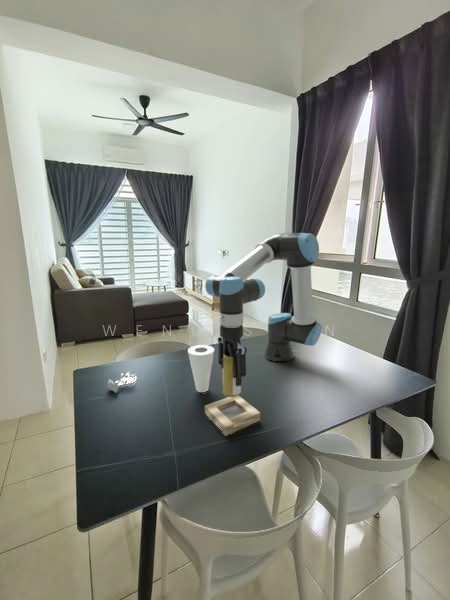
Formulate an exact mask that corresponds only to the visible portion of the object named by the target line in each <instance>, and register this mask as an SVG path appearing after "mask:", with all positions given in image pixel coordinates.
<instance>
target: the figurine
mask: <svg viewBox="0 0 450 600" xmlns="http://www.w3.org/2000/svg"><path fill="white" fill-rule="evenodd" d="M133 371H134V369H130V370H128V371H126V372H125V373H121V374H120V376H119V377H120V378H119V380H115V382H114V381H113V380H112V379H108V382H107V387H109V388H110V389H113V390H115V391H118V392H119V389H118V388H119V387H118V386H120V385H123V384H128V383H129V384H130V383H133V382H135V381H137V380H136V379H137V375H138V373H137V372H135V373H134V374H132V373H131V372H133ZM124 374H125V375H124ZM123 375H124V376H123ZM122 376H123V377H122ZM115 383H118V384H117V385H115ZM135 383H136V382H135ZM109 388H108V389H109Z"/></svg>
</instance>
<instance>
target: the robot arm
mask: <svg viewBox="0 0 450 600" xmlns="http://www.w3.org/2000/svg"><path fill="white" fill-rule="evenodd" d="M319 244H320V243H319V241H318V238H317V237H316V236H315V235H314V234H313V233H307V232H306V233H305V232H292V233H291V232H290V233H288V232H287V233H277V234H274V235H271V236H269V237H267V238H265V239H264V240H263V241H261V242H259V243H258V244H256V246H255V248H254V249H253V250H252V251H251V252H250V253H248V254H247V255H246V256H244V257H243V258H242V259H240V260H239V261H238V262H236V263H235V264H233V265H232V266H231V267H230V268H228V269H227V270H226V271H224V272H223V273H222V274H220V275H219V276H217V275H212V276H209V277H208V278H207V279H206V281H205V285H204V286H205V287H204V288H205V291H206V293H207V294H208V295H209V296H213V297H216V298H219V324H220V325H219V335H220V337H218V338H217V342H218V355H217V356H218V358H217V361H218V365H220V367H221V371H222V373H221V374H222V375H221V376H223V365H224V359H223V355H224V353H225V356H229V355H230V356H231V357H232V358H233V369H234V375H235V376H233V395H236V394H239V393H240V394H241V393H242V378H244V377H246V376H247V365H246V363H247V360H246V357H247V355H246V354H247V347H245V346H242V343H241V338H242V337H243V335H244V331H243V330H244V325H243V324H244V305H245V304H248V303H251V302H257V301H258V300H260V299H262V298H263V297H264V296H265V293H266V286H265V284H264V282H263V281H262V280H261V279H258V278H250V279H249V277H252V275H253V274H254V273H256V272H257V271H258V270H259V269H261V268H262V267H263V266H264V265H265V264H270V263H272V262H273V261H277V260H279V261H286V266H287V268H289V269H290V274H291V275H290V277H291V289H292V301H293V303H292V304H293V315H292V314H291V313H289V312H280V313H279V312H278V313H273V314H271V315H269V316H268V318H267V319H268V321H267V343H266V347H265V349H264V352H263V356H264V355H265V356H266V357H267V358H269V359H271V360H275V361H287V362H290V361H292V360H293V359H294V352H293V349H292V348H293V347H292V345H291V342H293V343H297V344H300V345H304V346H310V347H313V346H315V345H317V343H318V341H319V339H320V336H321V334H322V324H321V322H317V316H316V315H315V314H314V310H313V309H314V308H313V289H312V288H313V287H312V267H313V265H314V264H315V262H316V261H317V260H318V258H319V253H320V245H319ZM236 352H237V353H236ZM233 353H234V354H233ZM291 359H292V360H291ZM240 394H239V395H240Z"/></svg>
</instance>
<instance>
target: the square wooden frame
mask: <svg viewBox="0 0 450 600" xmlns="http://www.w3.org/2000/svg"><path fill="white" fill-rule="evenodd" d="M205 414H206V415H207V416H208V417H209V418H208V417H207V416H206V415H205ZM204 415H205V416H206V417H207V418H208V420H211V421H212V422H213V423H214V424H215V425H216V426H217V427H218V428H219V429H220V430H221V431H222V432H221V431H220V430H219V429H218V428H217V427H216V426H215V425H214V424H213V423H212V422H211V421H210V422H211V423H212V424H213V425H214V426H215V427H216V428H217V429H218V430H219V431H220V432H221V434H223V435H224V436H225V437H226V436H227V435H229V434H231V435H233V434H235V433H234V432H236V431H238V430H240V429H242V428H244V429H246V428H245V427H247V426H249V425H251V424H253V423H256V422H258V421H260V422H261V412H260V411H259V410H258V409H257V408H255V407H254V406H253V405H251V403H249V402H247V401H246V400H245V399H244V398H242V397H241V396H240V394H239V395H238V396H236V397H227V396H226V397H225V398H223V399H220V400H217V401H213V402H211V403H209V404H206V405H204ZM258 423H259V422H258ZM256 424H257V423H256ZM253 425H254V424H253ZM251 426H252V425H251ZM249 427H250V426H249ZM247 428H248V427H247ZM242 430H243V429H242ZM240 431H241V430H240ZM238 432H239V431H238ZM232 433H233V434H232ZM236 433H237V432H236ZM229 436H230V435H229ZM227 437H228V436H227Z"/></svg>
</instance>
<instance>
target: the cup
mask: <svg viewBox="0 0 450 600" xmlns="http://www.w3.org/2000/svg"><path fill="white" fill-rule="evenodd" d="M214 353H215V348H214V347H213V346H211V345H207V344H198V345H194V346H191V347H189V348H188V349H187V354H188V358H189V362H190V367H191V371H192V376H193V381H194V385H195V386H194V387H195V391H196V390H197V391H198V392H206V391H208V392H209V385H210V381H211V374H212V366H213V361H214V355H215V354H214ZM197 391H196V392H197ZM198 392H197V393H198ZM206 393H207V392H206Z"/></svg>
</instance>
